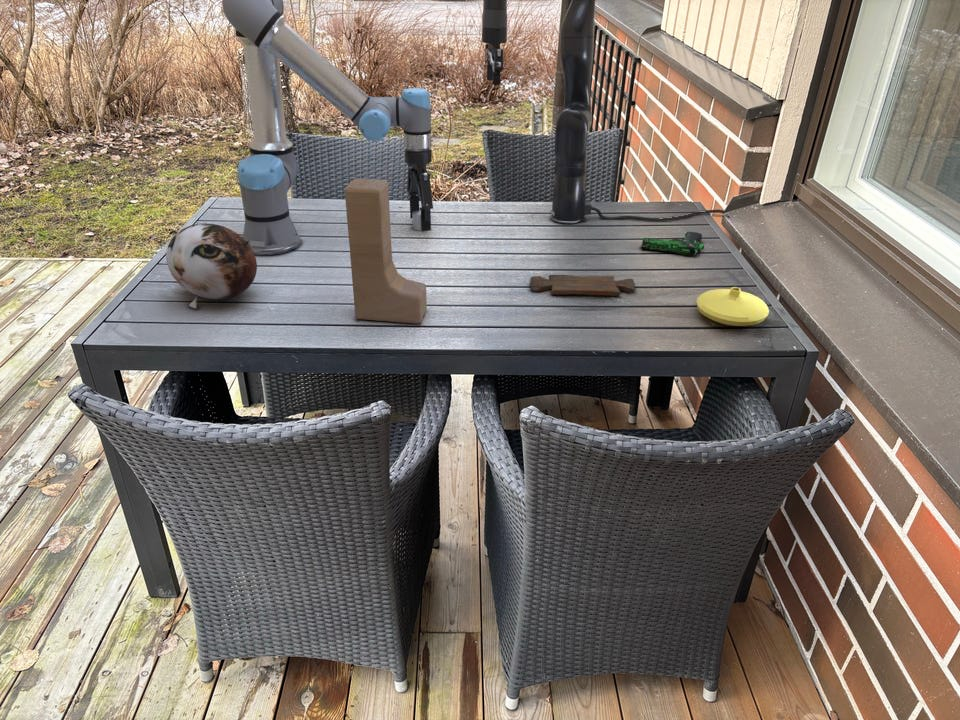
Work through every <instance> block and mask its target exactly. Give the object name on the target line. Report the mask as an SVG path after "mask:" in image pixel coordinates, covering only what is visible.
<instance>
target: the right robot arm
mask: <svg viewBox="0 0 960 720" xmlns="http://www.w3.org/2000/svg"><path fill="white" fill-rule="evenodd" d="M482 6H483V7H482V15H481V42H482V43H483V44H485V45H484V48H485V49H484V64H485V67H486V80H487V81H492V85H493V86H501V73H502V72H503V71H504V49H503V48H501V44H506V43H507V40H508V0H482ZM595 13H596V0H571V2H570V3H569V5H568V8H567V11H566V13H565V15H564V18H563V20H562V22H561V26H560V29H559V61H560V67H561V72H562V76H563V77H562V78H563V83H564V95H563V105H562V111H561V112H560V113H559V115H558V116H557V119H556V122H555V129H554V130H555V131H554V134H555V135H554V157H555V158H554V173H553V174H554V175H553V176H554V177H553V189H552V204H551V209H550V219H551V221H553V222H555V223H557V224H558V223H559V224H564V225H574V224H578V223H581V222H585V216H589V215H591V214H592V211H593V212H596V213H597V215H598V217H599V218H600V219H602V220H609V221H612V220H615V221H616V220H617V221H618V220H637V221H638V220H639V221H648V222H662V221H663V222H664V221H665V222H666V221H672V220H678V219H683V218H688V217H691V216H694V215H704V214H715V213H716V214H717V213H718V214H723V215H724V216H727V215H726V214H724V212H725V211H726V210H724V209H707V210H704V211H706V212H695V211H694V212H695V213H691V212H690V213H691V214H688V215H684V216H678V215H677V216H678V217H674V216H675V215H672V216H671V217H672V218H666V217H667V216H666V217H665V216H664V217H665V218H664V217H662V218H663V219H659V218H660V217H648V216H647V217H646V216H638V215H619V216H606V215H603V214H602V211H601V210H600V209H599V208H597V207H595V206H592V204H591V203H590V202H589V201H588V200H587V189H585V187H586V186H585V185H586V177H587V176H586V175H587V163H588V154H587V153H588V152H587V148H588V147H587V145H588V135H589V130H591V129H590V128H591V127H592V123H593V115H592V114H593V113H592V99H591V97H592V96H591V82H592V81H591V80H592V73H593V63H594V61H593V60H594V49H595V48H594V47H595Z"/></svg>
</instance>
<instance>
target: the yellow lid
mask: <svg viewBox="0 0 960 720" xmlns="http://www.w3.org/2000/svg"><path fill="white" fill-rule="evenodd" d="M696 307H697V309H698V311H699V312H700V313H701V314H702V315H703V316H704V317H706V318H707V319H710V320H712V321H714V322H716V323H718V324H722V325H727V326H731V327H732V326H734V327H746V326H754V325H757V324H761V323H762V322H764V321H765V320H766V318H767V317H768V316H769V313H770V309H769V307H768V305H767V304H766V302H765V301H764V300H763V299H761V298H760V297H758V296H756V295H754V294H752V293H749V292H746V291H742V289H741V288H740V287H737V286H733V287H730V288H717V289H710V290H707V291H704V292H703V293H701V294H700V295H699V296H698V297H697V298H696Z"/></svg>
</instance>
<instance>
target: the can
mask: <svg viewBox="0 0 960 720" xmlns="http://www.w3.org/2000/svg"><path fill="white" fill-rule="evenodd" d="M412 216H413V218H412V229H413V230H414V231H418V232H419V231H420V232H422V231H421V210H420V209H419V210H417V211H414V212H413V213H412Z"/></svg>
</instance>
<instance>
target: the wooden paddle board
mask: <svg viewBox="0 0 960 720" xmlns="http://www.w3.org/2000/svg"><path fill="white" fill-rule="evenodd" d="M529 278H530V285H529V286H530V291H531V292H542V291H547V290H551V294H552V295H556V296H557V295H558V296H559V295H560V296H562V295H588V296H589V295H592V296H612V297H613V296H614V297H615V296H619V295H621V291H623V292H627V293H634V290H635V282H634V279H633V278H625V279H619V280H618V279H617V280H615V276H614V275H573V274H572V275H570V274H549V275H548V279H547V278H546V277H543V276H540V275H534V276H530V277H529Z"/></svg>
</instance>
